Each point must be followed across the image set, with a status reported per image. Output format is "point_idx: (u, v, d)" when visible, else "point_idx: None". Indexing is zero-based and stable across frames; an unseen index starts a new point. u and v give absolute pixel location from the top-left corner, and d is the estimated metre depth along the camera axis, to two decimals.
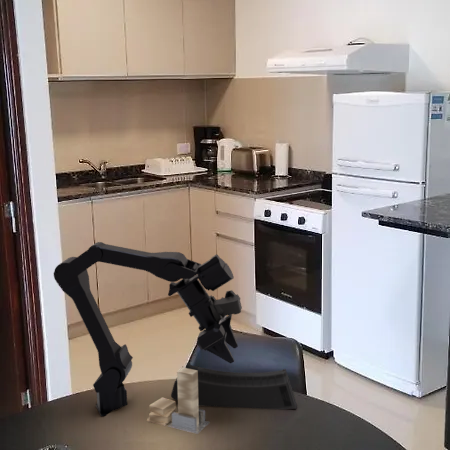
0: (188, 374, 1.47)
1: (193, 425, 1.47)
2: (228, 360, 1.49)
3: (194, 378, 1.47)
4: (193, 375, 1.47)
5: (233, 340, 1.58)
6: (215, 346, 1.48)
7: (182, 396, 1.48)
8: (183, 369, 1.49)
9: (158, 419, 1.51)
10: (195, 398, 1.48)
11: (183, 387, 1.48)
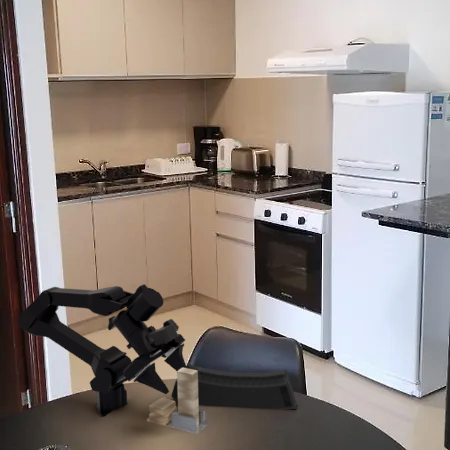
0: (188, 374, 1.47)
1: (193, 425, 1.47)
2: (162, 391, 1.46)
3: (194, 378, 1.47)
4: (193, 375, 1.47)
5: None
6: (147, 377, 1.46)
7: (182, 396, 1.48)
8: (183, 369, 1.49)
9: (158, 419, 1.51)
10: (195, 398, 1.48)
11: (183, 387, 1.48)
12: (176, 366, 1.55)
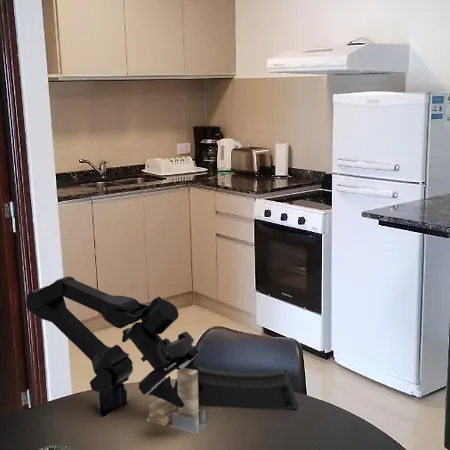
0: (188, 374, 1.47)
1: (193, 425, 1.47)
2: (177, 405, 1.44)
3: (194, 378, 1.47)
4: (193, 375, 1.47)
5: (198, 383, 1.53)
6: (162, 391, 1.45)
7: (182, 396, 1.48)
8: (183, 369, 1.49)
9: (158, 419, 1.51)
10: (195, 398, 1.48)
11: (183, 387, 1.48)
12: None
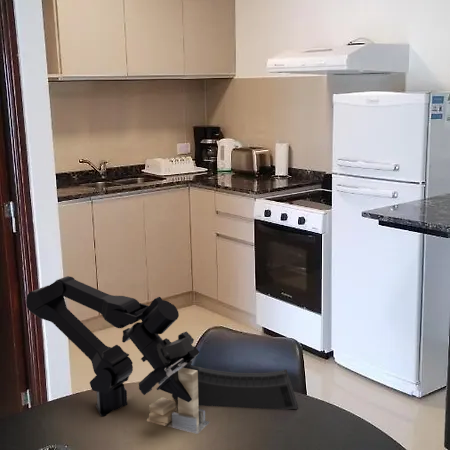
0: (188, 374, 1.47)
1: (193, 425, 1.47)
2: (185, 399, 1.47)
3: (194, 378, 1.47)
4: (193, 375, 1.47)
5: None
6: (169, 385, 1.48)
7: None
8: (183, 369, 1.49)
9: (158, 419, 1.51)
10: (195, 398, 1.48)
11: None
12: None
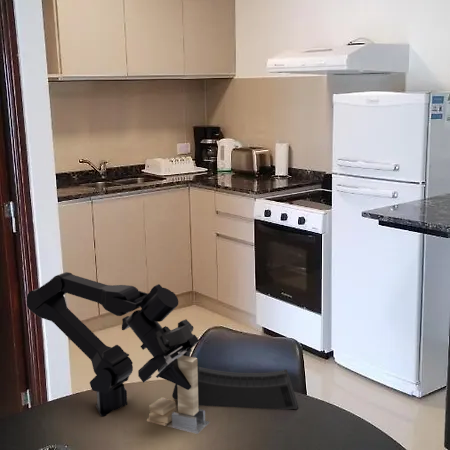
0: (188, 362, 1.46)
1: (193, 425, 1.47)
2: (185, 386, 1.47)
3: (194, 366, 1.47)
4: (193, 363, 1.46)
5: None
6: (169, 373, 1.47)
7: None
8: (183, 357, 1.48)
9: (158, 419, 1.51)
10: (195, 386, 1.48)
11: None
12: None
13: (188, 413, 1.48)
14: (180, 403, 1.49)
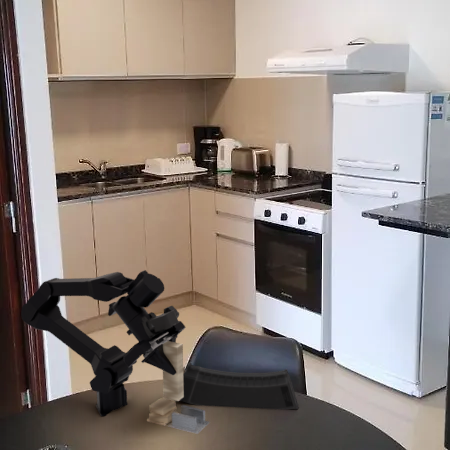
0: (173, 347, 1.47)
1: (193, 425, 1.47)
2: (170, 372, 1.48)
3: (179, 351, 1.48)
4: (178, 348, 1.47)
5: None
6: (154, 358, 1.48)
7: None
8: (168, 342, 1.49)
9: (158, 419, 1.51)
10: (180, 372, 1.49)
11: None
12: None
13: (173, 398, 1.50)
14: (165, 389, 1.50)
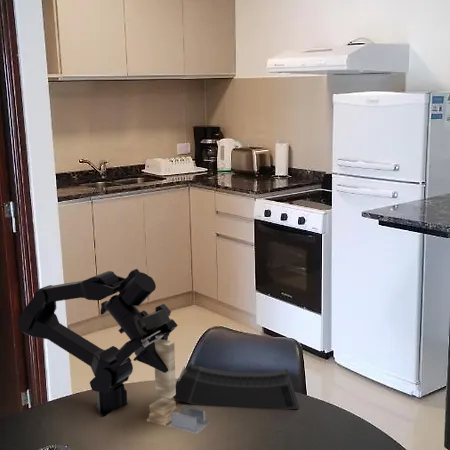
0: (164, 345, 1.48)
1: (193, 425, 1.47)
2: (162, 370, 1.49)
3: (170, 349, 1.49)
4: (169, 346, 1.48)
5: None
6: (146, 356, 1.49)
7: None
8: (160, 340, 1.50)
9: (158, 419, 1.51)
10: (172, 369, 1.50)
11: None
12: None
13: (165, 396, 1.51)
14: (157, 386, 1.51)
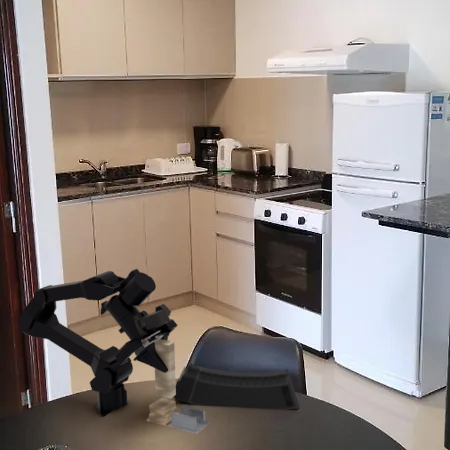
0: (164, 345, 1.48)
1: (193, 425, 1.47)
2: (162, 370, 1.49)
3: (170, 349, 1.49)
4: (169, 346, 1.48)
5: None
6: (146, 356, 1.49)
7: None
8: (160, 340, 1.50)
9: (158, 419, 1.51)
10: (172, 369, 1.50)
11: None
12: None
13: (165, 396, 1.51)
14: (157, 386, 1.51)
